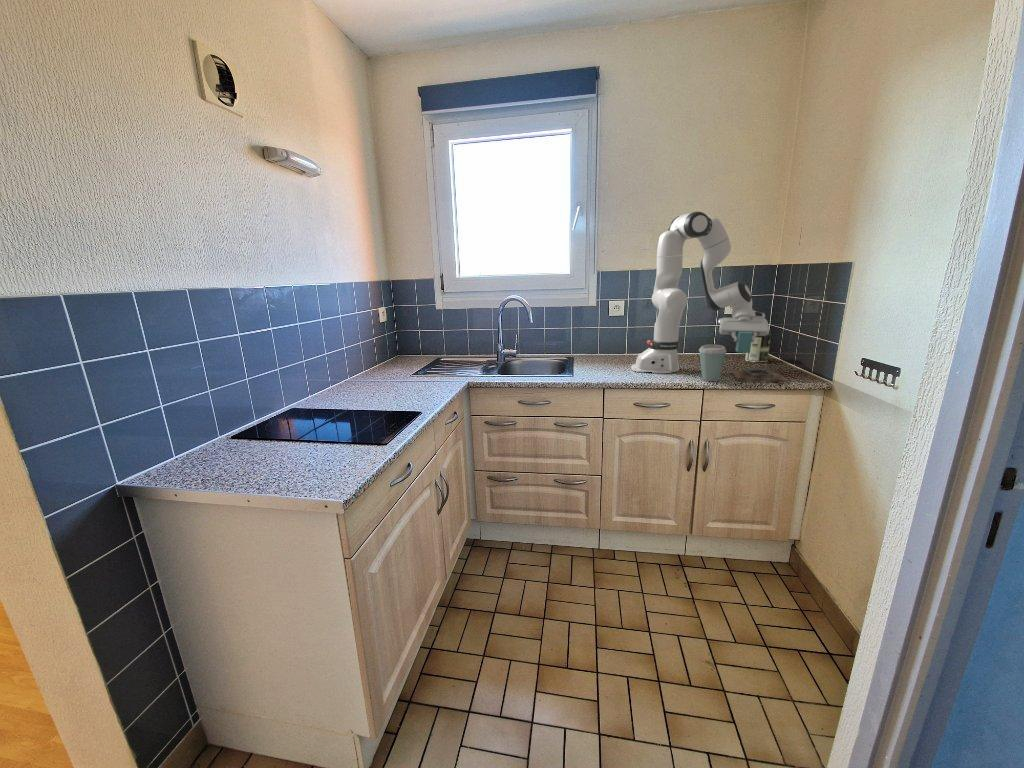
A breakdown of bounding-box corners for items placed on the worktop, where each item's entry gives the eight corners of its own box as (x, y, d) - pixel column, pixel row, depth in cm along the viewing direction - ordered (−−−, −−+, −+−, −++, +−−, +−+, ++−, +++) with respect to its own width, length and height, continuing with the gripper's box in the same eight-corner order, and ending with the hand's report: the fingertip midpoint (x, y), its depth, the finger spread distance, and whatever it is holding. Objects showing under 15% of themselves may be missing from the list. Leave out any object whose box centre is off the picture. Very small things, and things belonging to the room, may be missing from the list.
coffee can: (765, 359, 213) (769, 332, 210) (769, 363, 204) (773, 335, 200) (743, 358, 217) (746, 331, 213) (746, 362, 208) (749, 334, 204)
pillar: (737, 352, 187) (740, 332, 184) (735, 350, 191) (738, 331, 189) (749, 352, 185) (752, 333, 183) (747, 350, 190) (750, 331, 187)
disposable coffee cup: (722, 384, 171) (726, 349, 167) (694, 381, 176) (698, 347, 172) (723, 378, 180) (727, 344, 176) (697, 376, 185) (700, 343, 181)
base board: (738, 381, 175) (738, 374, 174) (732, 373, 187) (732, 367, 186) (786, 383, 169) (787, 376, 169) (777, 375, 181) (778, 369, 181)
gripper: (719, 312, 193) (720, 336, 187) (768, 313, 187) (771, 338, 181) (717, 321, 198) (717, 344, 192) (764, 322, 192) (767, 346, 186)
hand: (744, 341), depth 186 cm, fingers closed on pillar, 5 cm apart
